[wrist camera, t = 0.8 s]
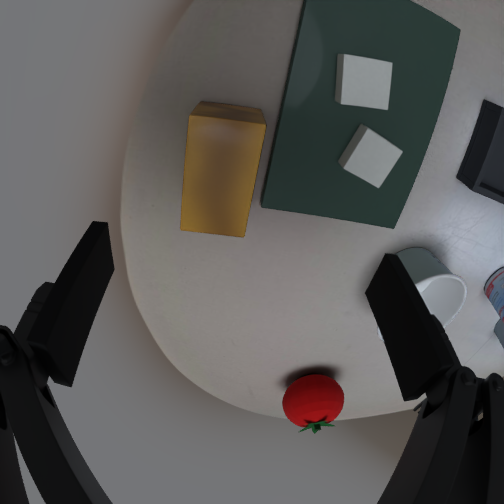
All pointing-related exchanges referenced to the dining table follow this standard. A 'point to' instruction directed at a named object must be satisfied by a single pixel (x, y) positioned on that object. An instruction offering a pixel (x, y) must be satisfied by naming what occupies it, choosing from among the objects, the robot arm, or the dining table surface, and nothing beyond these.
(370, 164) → the white square block
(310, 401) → the tomato
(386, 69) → the grey square block
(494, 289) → the pill bottle
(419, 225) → the dining table surface
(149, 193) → the dining table surface
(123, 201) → the dining table surface
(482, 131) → the tray
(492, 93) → the dining table surface
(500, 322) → the spray bottle
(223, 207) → the yellow rectangular block
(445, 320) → the food container
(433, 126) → the chalkboard
